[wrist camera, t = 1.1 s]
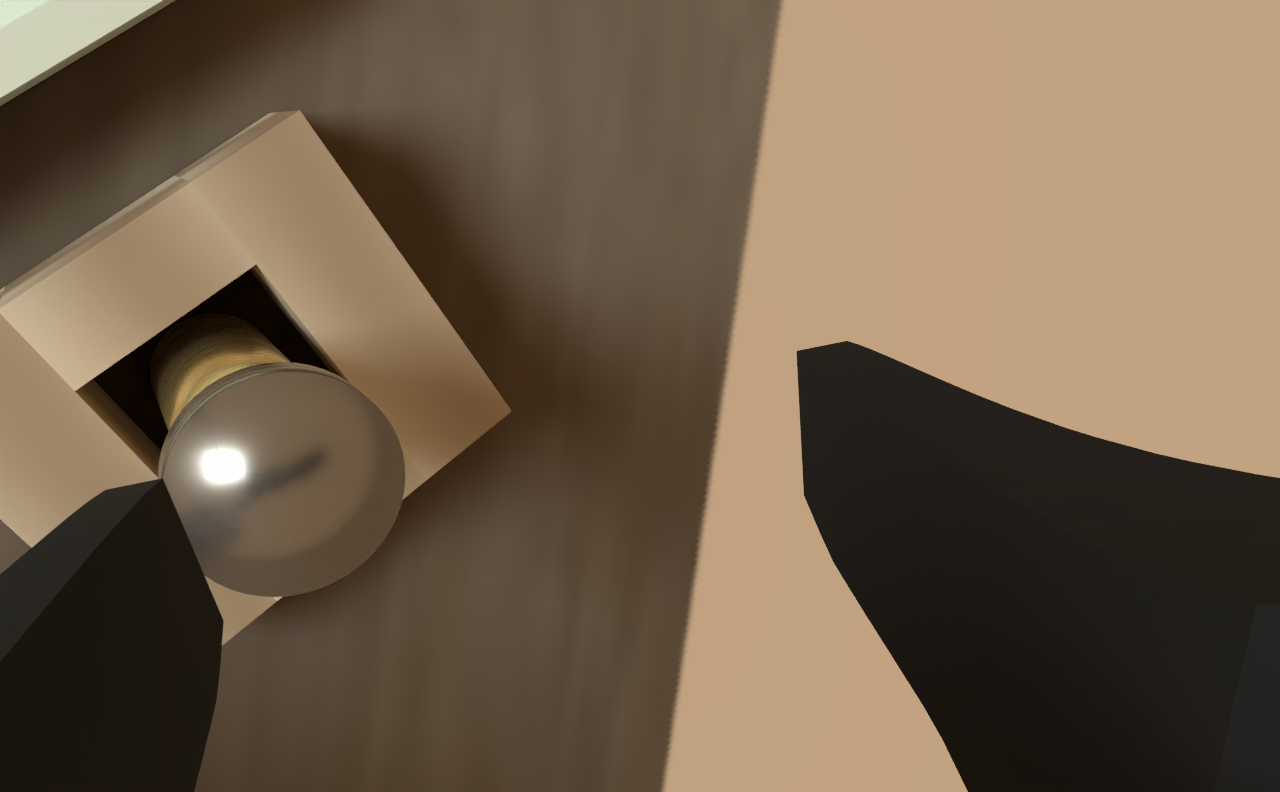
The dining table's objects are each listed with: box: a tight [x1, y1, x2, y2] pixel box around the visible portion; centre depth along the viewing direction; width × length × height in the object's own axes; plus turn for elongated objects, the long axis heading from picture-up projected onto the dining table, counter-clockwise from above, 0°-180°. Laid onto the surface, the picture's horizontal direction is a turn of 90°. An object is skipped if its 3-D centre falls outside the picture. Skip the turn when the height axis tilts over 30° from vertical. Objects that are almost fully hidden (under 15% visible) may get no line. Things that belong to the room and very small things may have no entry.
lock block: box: [0, 110, 512, 645], centre depth 19 cm, size 8×7×3 cm
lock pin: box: [150, 313, 405, 597], centre depth 17 cm, size 3×3×8 cm
